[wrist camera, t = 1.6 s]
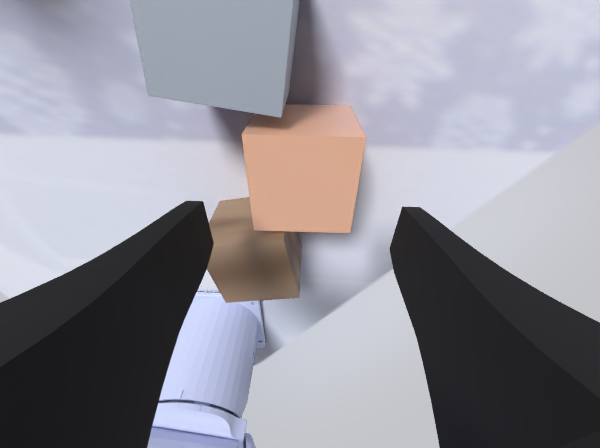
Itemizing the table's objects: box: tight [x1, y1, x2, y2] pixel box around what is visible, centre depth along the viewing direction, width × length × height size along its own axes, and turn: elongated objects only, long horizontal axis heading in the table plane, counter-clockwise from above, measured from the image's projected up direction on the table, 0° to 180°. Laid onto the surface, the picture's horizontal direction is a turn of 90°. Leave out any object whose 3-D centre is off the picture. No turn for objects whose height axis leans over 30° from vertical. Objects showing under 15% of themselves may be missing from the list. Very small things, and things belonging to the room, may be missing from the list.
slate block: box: [130, 0, 300, 118], centre depth 10 cm, size 5×5×5 cm
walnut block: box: [207, 197, 301, 303], centre depth 18 cm, size 5×5×5 cm
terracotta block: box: [242, 104, 366, 233], centre depth 14 cm, size 5×5×5 cm
